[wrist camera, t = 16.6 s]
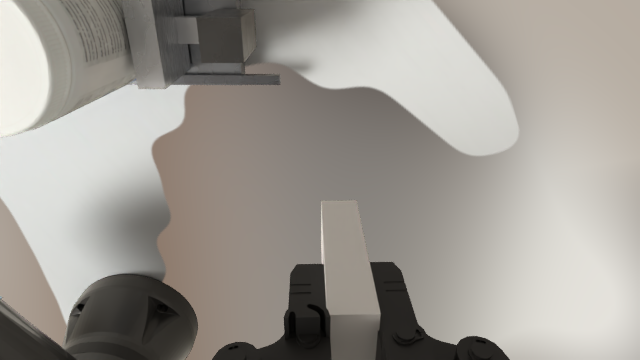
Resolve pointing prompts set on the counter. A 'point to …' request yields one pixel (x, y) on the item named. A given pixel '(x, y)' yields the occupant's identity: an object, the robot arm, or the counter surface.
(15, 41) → the supplement tub
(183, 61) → the sliding jaw
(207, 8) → the vise
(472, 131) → the counter surface
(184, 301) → the robot arm
